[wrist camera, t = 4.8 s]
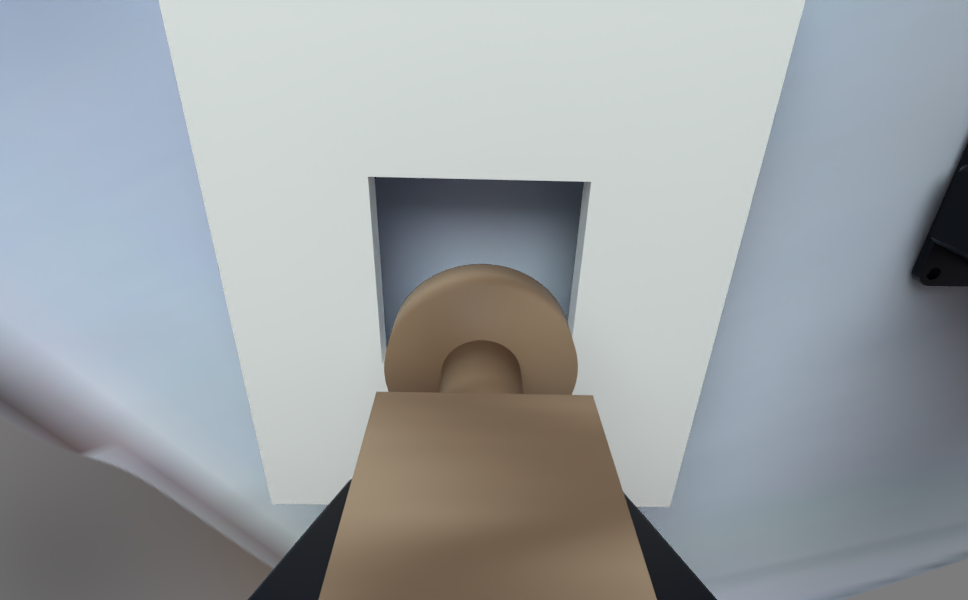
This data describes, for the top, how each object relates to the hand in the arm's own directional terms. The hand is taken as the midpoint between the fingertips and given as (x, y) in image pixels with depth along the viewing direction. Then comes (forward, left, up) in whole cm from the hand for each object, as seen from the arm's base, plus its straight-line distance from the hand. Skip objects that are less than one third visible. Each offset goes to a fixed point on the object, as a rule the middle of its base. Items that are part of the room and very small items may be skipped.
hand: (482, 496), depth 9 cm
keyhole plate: (0, 0, -12) cm, 12 cm away
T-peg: (0, 0, -5) cm, 5 cm away
